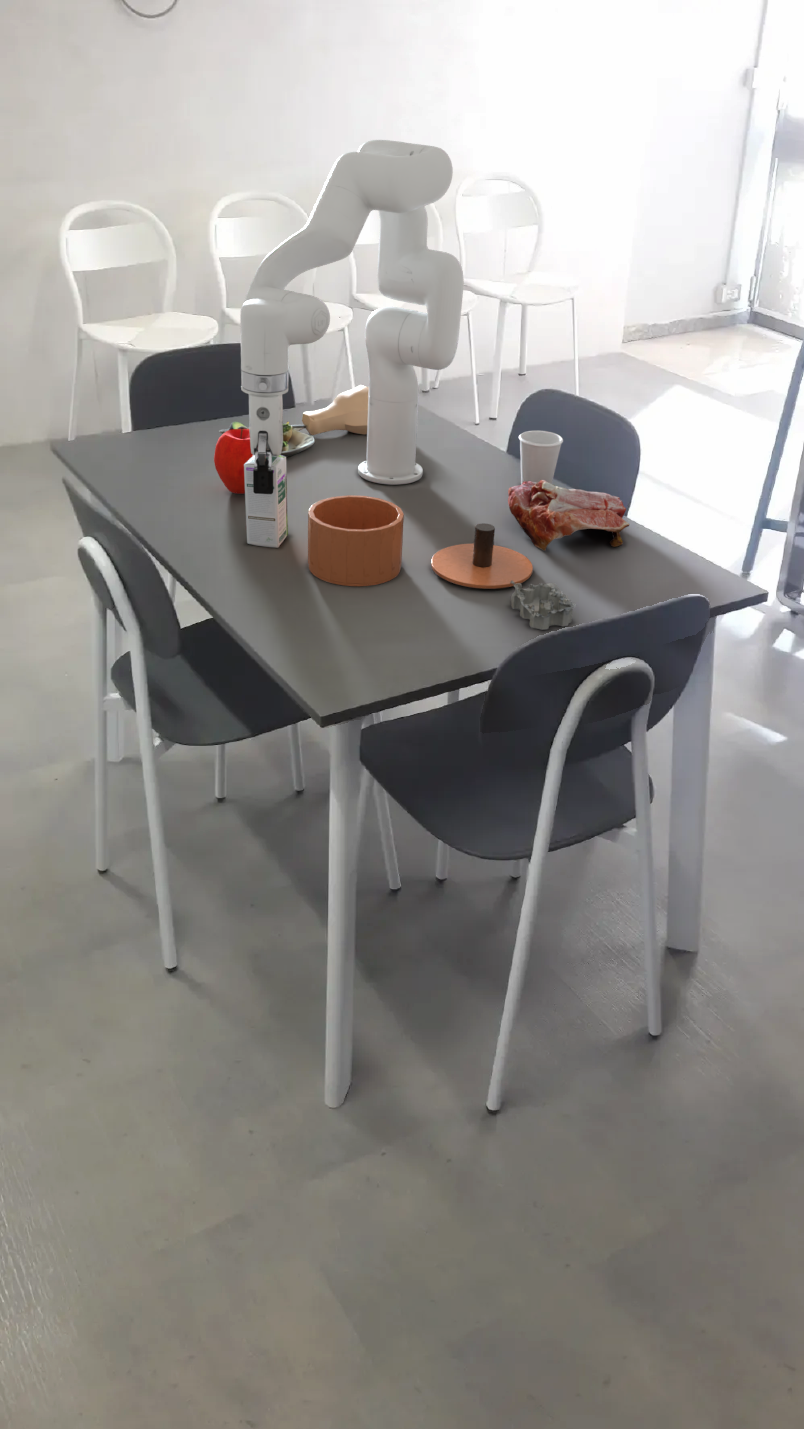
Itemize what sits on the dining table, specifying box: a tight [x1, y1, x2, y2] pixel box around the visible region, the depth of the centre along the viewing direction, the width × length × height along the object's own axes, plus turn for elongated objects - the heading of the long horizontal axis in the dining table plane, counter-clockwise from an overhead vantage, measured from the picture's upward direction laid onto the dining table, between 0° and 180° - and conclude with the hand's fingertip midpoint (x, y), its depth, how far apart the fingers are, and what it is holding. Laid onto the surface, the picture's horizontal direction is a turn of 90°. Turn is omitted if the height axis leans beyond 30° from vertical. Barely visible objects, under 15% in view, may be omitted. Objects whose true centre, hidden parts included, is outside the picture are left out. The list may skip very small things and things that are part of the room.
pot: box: [307, 494, 405, 587], centre depth 206 cm, size 15×15×10 cm
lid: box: [430, 522, 534, 590], centre depth 207 cm, size 17×17×8 cm
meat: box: [507, 480, 630, 552], centre depth 223 cm, size 21×21×10 cm
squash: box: [301, 384, 369, 436], centre depth 265 cm, size 11×20×9 cm, turn 118°
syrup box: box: [244, 454, 289, 549], centre depth 212 cm, size 6×6×14 cm
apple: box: [213, 429, 253, 495], centre depth 231 cm, size 10×10×12 cm
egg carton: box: [510, 581, 577, 631], centre depth 195 cm, size 11×8×4 cm
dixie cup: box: [518, 430, 564, 485], centre depth 241 cm, size 8×8×10 cm
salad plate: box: [217, 421, 316, 458], centre depth 257 cm, size 19×18×5 cm
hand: (265, 482), depth 210 cm, fingers open, 9 cm apart
